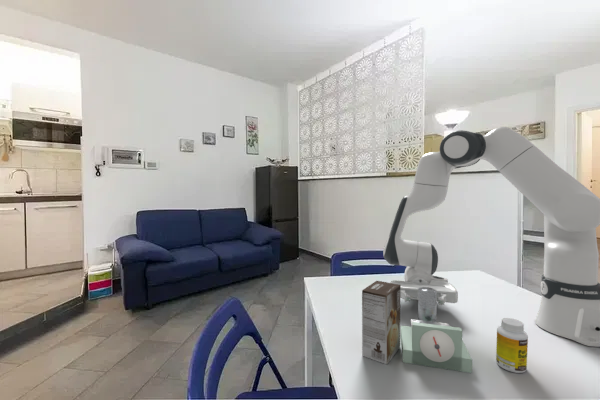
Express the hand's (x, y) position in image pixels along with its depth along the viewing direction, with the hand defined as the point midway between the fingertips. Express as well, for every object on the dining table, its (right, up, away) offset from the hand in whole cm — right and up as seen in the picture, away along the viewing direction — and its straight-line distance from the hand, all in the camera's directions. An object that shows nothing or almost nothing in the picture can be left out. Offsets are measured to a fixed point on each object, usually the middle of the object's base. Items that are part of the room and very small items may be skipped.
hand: (424, 300), depth 86 cm
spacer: (-2, -7, -6) cm, 9 cm away
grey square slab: (-4, -4, -14) cm, 16 cm away
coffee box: (-17, -7, -15) cm, 24 cm away
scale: (-5, -7, -16) cm, 18 cm away
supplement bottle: (+10, -8, -21) cm, 25 cm away
